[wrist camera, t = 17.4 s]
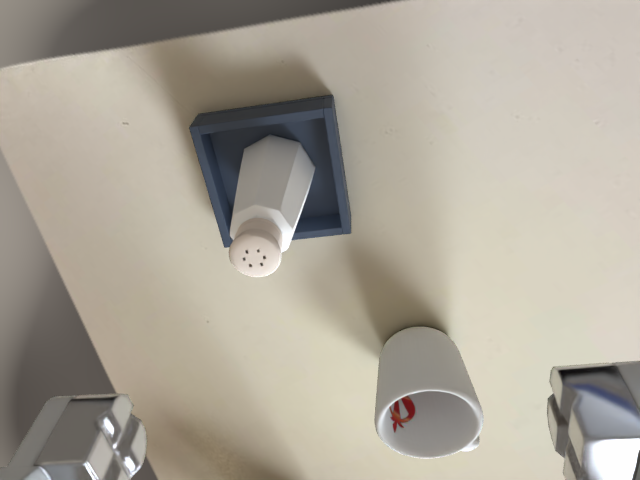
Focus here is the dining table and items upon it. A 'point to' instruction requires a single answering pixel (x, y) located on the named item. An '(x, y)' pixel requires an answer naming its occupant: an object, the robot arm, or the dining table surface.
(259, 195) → the pepper shaker
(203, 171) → the tray
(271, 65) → the dining table surface
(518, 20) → the dining table surface
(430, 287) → the dining table surface
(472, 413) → the cup
